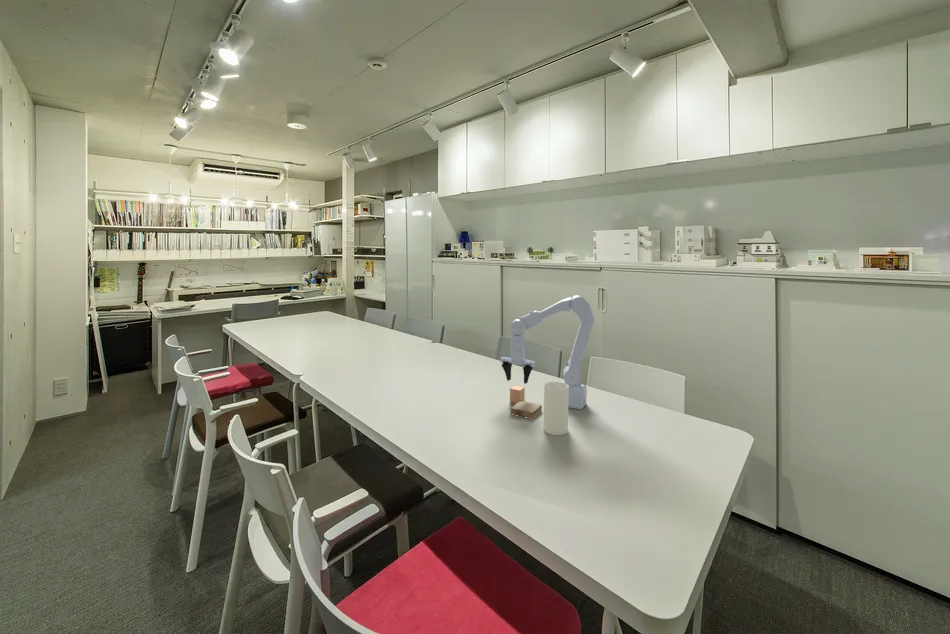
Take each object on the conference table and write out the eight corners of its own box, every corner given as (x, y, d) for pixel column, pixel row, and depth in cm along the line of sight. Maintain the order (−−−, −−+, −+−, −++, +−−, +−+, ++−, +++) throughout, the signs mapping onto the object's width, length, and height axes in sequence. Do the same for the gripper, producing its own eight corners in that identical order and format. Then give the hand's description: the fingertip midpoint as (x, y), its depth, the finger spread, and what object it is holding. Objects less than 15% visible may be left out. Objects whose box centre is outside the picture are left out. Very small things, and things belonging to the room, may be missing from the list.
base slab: (541, 412, 157) (541, 404, 156) (532, 420, 149) (532, 412, 149) (520, 407, 161) (520, 400, 161) (510, 415, 154) (510, 408, 153)
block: (524, 401, 167) (524, 387, 167) (519, 404, 164) (520, 390, 163) (514, 399, 170) (514, 385, 169) (509, 402, 166) (510, 388, 165)
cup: (564, 424, 144) (565, 381, 141) (570, 434, 136) (571, 389, 133) (541, 425, 144) (542, 381, 141) (546, 435, 136) (547, 389, 133)
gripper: (497, 349, 164) (497, 381, 166) (530, 353, 156) (529, 387, 158) (504, 345, 170) (504, 376, 172) (537, 349, 162) (536, 382, 164)
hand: (517, 381), depth 165 cm, fingers open, 7 cm apart
